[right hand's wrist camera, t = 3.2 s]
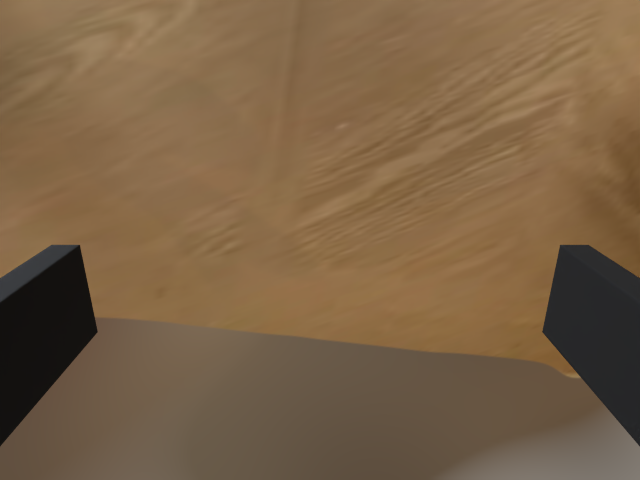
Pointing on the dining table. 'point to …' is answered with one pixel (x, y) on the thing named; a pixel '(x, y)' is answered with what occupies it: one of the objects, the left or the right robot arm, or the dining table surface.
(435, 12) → the dining table surface
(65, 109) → the dining table surface
